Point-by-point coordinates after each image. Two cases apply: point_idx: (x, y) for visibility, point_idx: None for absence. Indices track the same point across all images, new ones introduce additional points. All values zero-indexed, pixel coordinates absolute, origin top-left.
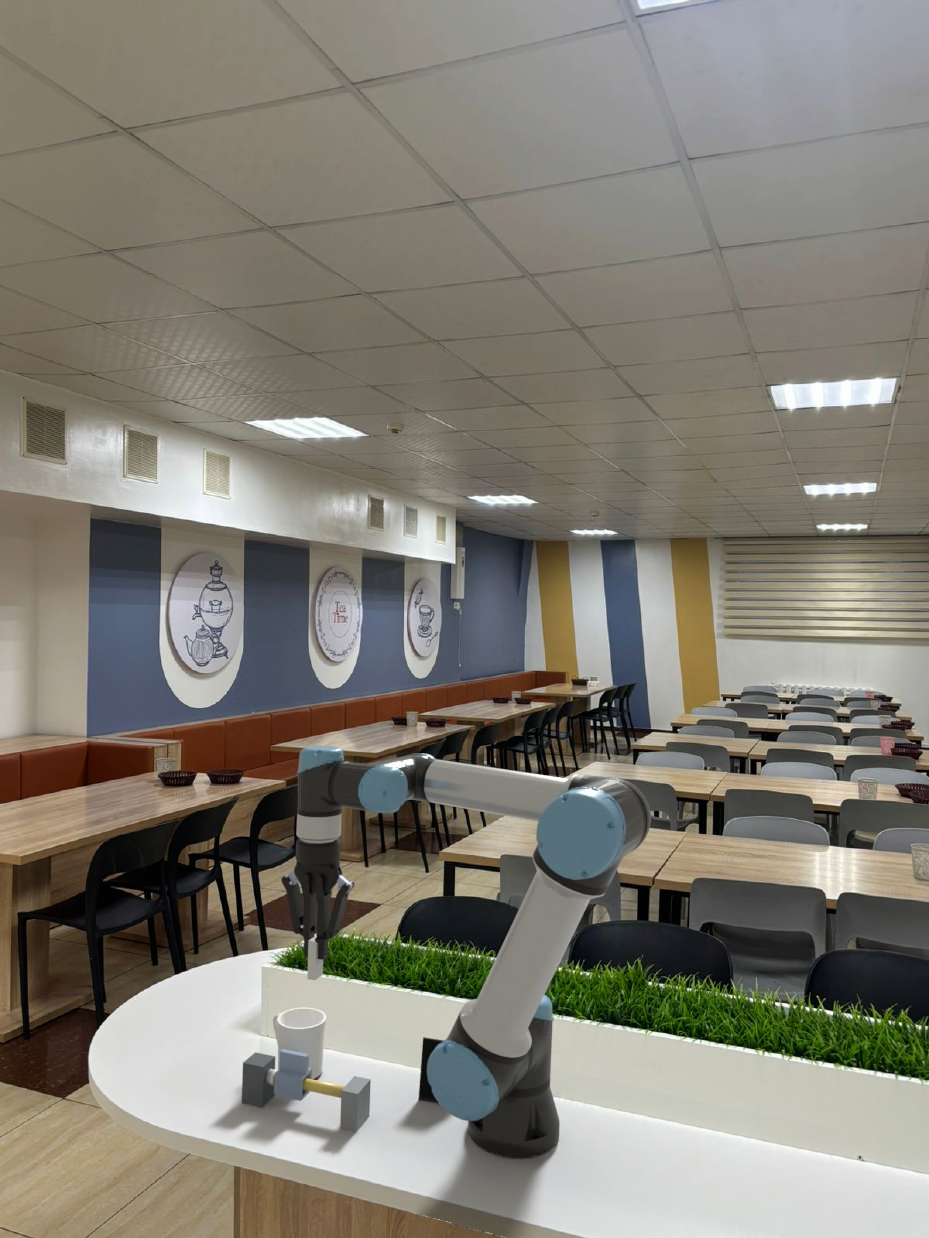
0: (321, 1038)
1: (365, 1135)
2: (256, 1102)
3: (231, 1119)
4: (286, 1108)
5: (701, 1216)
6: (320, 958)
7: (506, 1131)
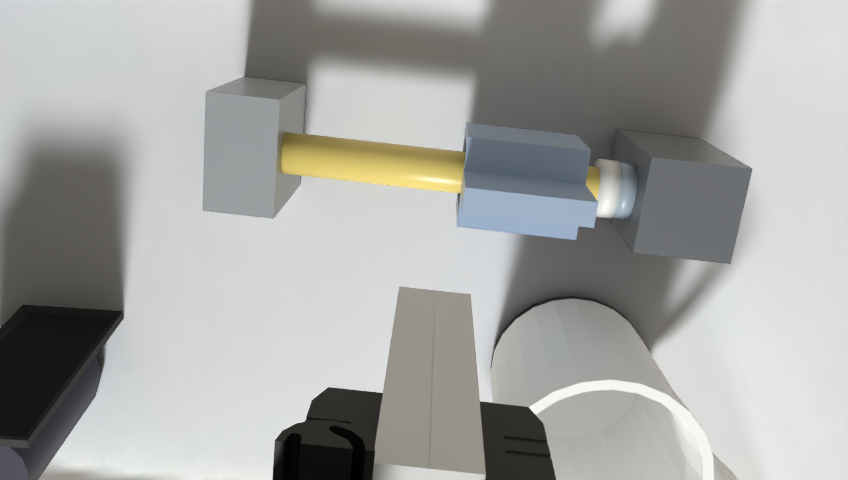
0: None
1: (207, 63)
2: (643, 134)
3: (696, 31)
4: None
5: None
6: (353, 393)
7: None
